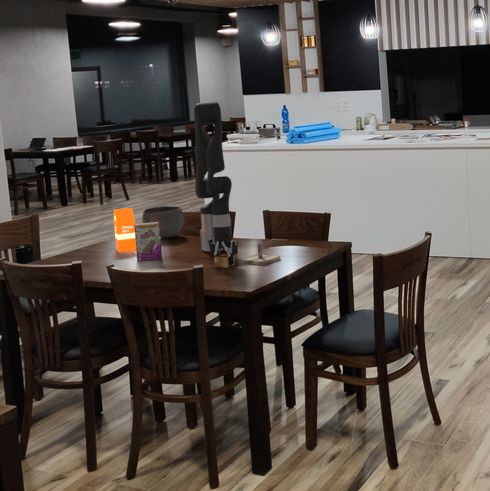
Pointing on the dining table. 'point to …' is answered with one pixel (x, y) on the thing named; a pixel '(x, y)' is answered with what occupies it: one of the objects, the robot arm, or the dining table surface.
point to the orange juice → (124, 230)
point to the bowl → (165, 219)
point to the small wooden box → (222, 261)
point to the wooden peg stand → (260, 258)
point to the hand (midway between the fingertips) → (224, 264)
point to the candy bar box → (148, 241)
